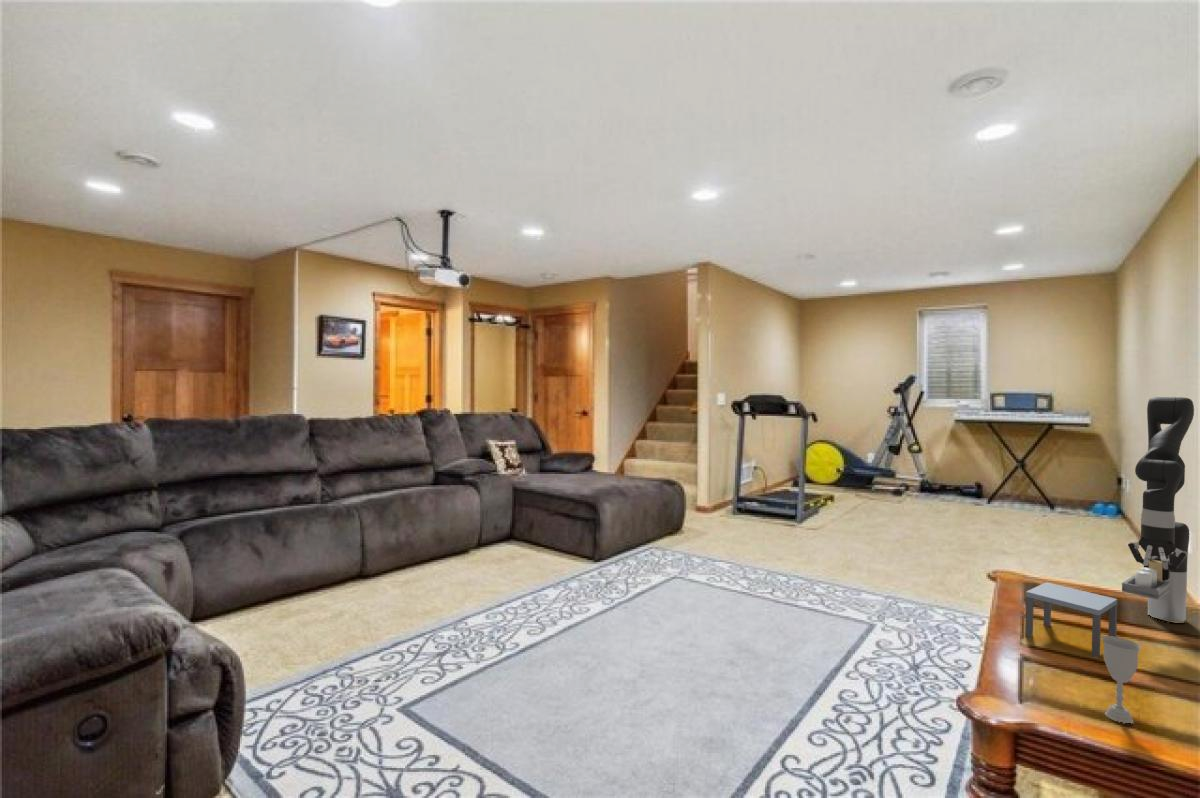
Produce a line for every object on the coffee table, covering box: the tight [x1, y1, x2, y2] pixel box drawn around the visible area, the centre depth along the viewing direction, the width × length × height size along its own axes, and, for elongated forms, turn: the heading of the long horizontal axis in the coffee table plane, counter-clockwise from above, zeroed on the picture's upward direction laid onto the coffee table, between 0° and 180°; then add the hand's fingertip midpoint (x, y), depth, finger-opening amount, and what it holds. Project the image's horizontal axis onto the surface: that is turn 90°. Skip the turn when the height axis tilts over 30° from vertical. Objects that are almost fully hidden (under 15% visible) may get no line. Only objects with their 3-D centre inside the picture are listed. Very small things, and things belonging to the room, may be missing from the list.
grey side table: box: [1024, 581, 1118, 659], centre depth 177 cm, size 16×18×14 cm
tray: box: [1121, 560, 1170, 600], centre depth 173 cm, size 18×8×7 cm, turn 124°
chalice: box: [1101, 635, 1142, 725], centre depth 135 cm, size 7×7×18 cm
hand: (1156, 578), depth 178 cm, fingers closed on tray, 3 cm apart
